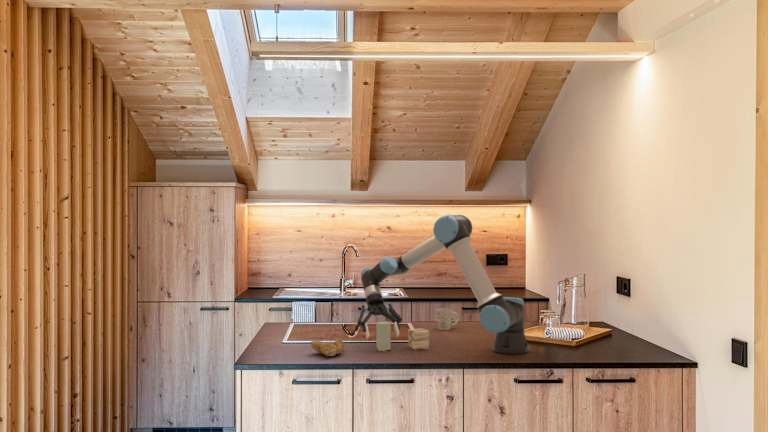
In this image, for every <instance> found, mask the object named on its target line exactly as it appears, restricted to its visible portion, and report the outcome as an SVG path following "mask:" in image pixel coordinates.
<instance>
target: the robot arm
mask: <svg viewBox="0 0 768 432" xmlns="http://www.w3.org/2000/svg"><path fill="white" fill-rule="evenodd" d="M432 229H433V230H432V231H433V236H432V237H429V238H428V239H426V240H425V241H422V243H419V244H418V245H417V246H415V247H413V248H411V249H410V250H409V251H407V252H405V253H404V254H402V255H400V256H399V257H397V258H396V259H395V258H394V257H391V256H389V255H388V256H385V257H384V258H383V259H381V260H380V261H379V262H378V263H377V264H376V265H375V266H371V267H370V266H369V267H368V266H367V267H366V268H364V269H362V270H361V272H360V281H361V284H362V287H363V292H364V296H365V301H366V305H367V306H366V305H364V304H362V306H361V307H360V308H361V309H360V310H361V311H360V314H359V317H358V320H357V323H356V325H357V326H358V327H359V326H360V327H361V329H362V332H363V333H365V338H366V340H369V338H370V332H369V327H368V321H369V320H370V318H372V316H382V317H385V318H386V319H388V320H389V321H390V322H391V323H393V329H394V333H395V337H396V338H399V336H400V334H401V333H400V329H401V328H400V327H401V326H400V324H401V322H402V320H403V318H402V317H401V316H400V314H399V313H398V312H397V311H396V310H395V309H394V308H393V305H392V304H391V303H388V305H385V303H384V298H383V294H382V291H381V286H380V283H382V282H383V281H384V280H386V279H387V278H389V277H392V276H398V275H399V276H401V275H405V274H407V273H408V272H409V271H410V269H412V268H414V267H416V266H417V265H420V264H421V263H422V262H425V261H426V260H427V259H429V258H431V257H433V256H434V255H436V254H438V253H440V252H441V251H443V250H445V249H446V251H448V252H451V253H452V255H453V257H454V259H455V261H456V263H457V265H458V266H459V268H460V270H461V272H462V275H464V277H465V279H466V282H467V284H468V285H469V287H470V289H471V291H472V293H473V295H474V296H475V298H476V300H477V302H478V303H477V306H476V308H477V310H478V311H479V317H478V318H479V322H480V325H481V326H482V327H483V329H484V330H486V331H487V332H490V333H491V334H495V337H494V340H493V343H492V351H494V352H495V353H499V354H504V355H506V354H507V355H521V354H526V353H528V352H529V344H528V341H527V338H526V335H525V303H524V298H521V297H510V296H509V297H508V296H507V297H506V296H503V294H502V293H498V292H497V291H496V289H495V286H494V285H493V284H492V281H491V279H490V278H489V276H488V274H487V272H486V271H485V269H484V266H483V265H482V263H481V261H480V260H479V258H478V255H477V254H476V252H475V250H474V248H473V247H472V245H471V243H470V241H471V238H472V237H471V235H472V231H473V223H472V221H471V220H470V219H469V217H467V216H465V215H463V214H445V215H442V216H440V217H438V218H437V219H436V221H435V222H434V225H433V228H432ZM367 311H368V314H367V315H366V316H365V317H364V314H365V312H367ZM363 317H364V319H363Z"/></svg>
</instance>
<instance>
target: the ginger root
mask: <svg viewBox="0 0 768 432" xmlns="http://www.w3.org/2000/svg"><path fill="white" fill-rule="evenodd" d="M310 345H311V348H312V349H313V350H314V351H315V352H317V353H321V354H323V355H325V356H326V357H328V356H332V357H335V356H337V355H336V354H338V353H341V354H342V352H343V348H345V347H346V344H345V343H344V341H343V338H340V337H337V338H336V339H335V340H334V341H326V342H323V341H321V340H314V341H313V340H311V341H310Z"/></svg>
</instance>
